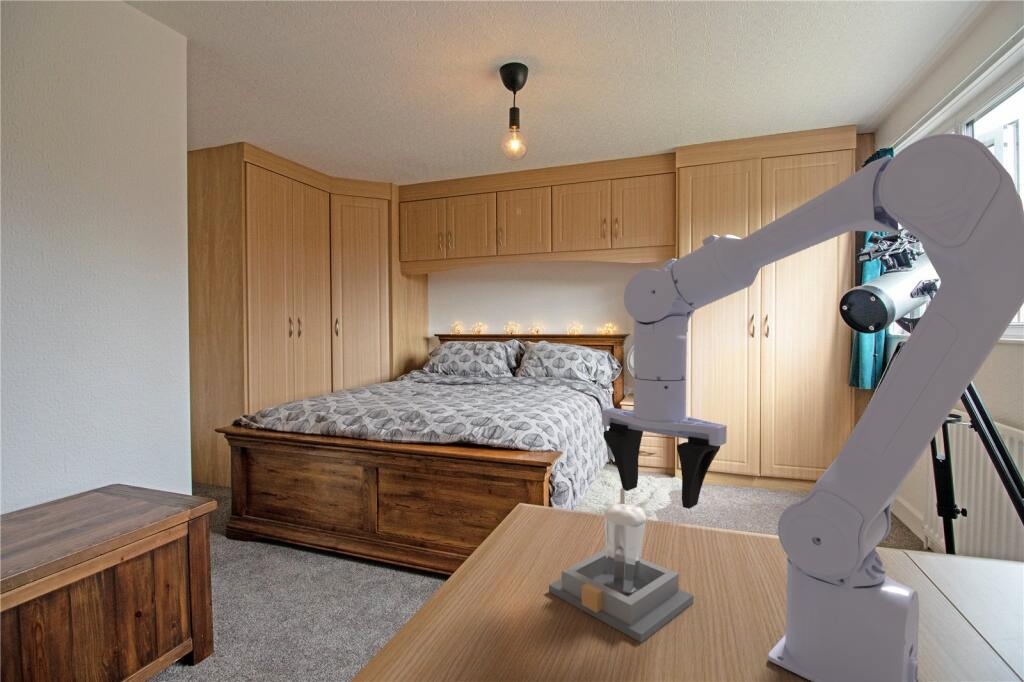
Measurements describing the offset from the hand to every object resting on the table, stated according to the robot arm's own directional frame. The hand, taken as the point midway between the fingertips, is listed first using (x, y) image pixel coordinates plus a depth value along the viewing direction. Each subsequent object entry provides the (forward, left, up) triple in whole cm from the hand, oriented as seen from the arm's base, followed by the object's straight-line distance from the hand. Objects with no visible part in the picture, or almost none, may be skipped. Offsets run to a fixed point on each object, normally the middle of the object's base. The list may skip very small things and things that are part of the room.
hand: (658, 496), depth 57 cm
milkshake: (+2, +4, -10) cm, 11 cm away
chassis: (+2, +5, -10) cm, 12 cm away
